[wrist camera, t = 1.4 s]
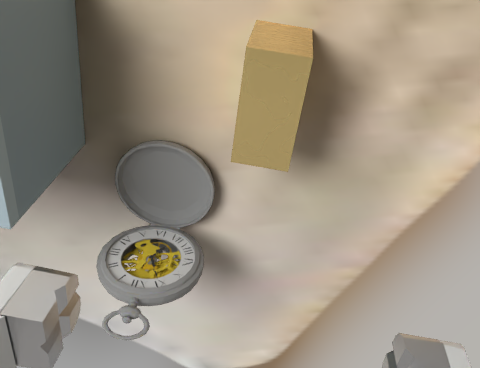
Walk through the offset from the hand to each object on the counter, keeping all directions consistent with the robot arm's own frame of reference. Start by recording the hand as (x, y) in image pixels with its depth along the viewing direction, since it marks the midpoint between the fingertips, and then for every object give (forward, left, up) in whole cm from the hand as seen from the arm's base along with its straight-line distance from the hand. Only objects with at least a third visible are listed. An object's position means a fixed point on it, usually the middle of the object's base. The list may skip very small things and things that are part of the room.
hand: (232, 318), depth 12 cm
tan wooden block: (0, 0, -17) cm, 17 cm away
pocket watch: (+9, -6, -18) cm, 21 cm away
